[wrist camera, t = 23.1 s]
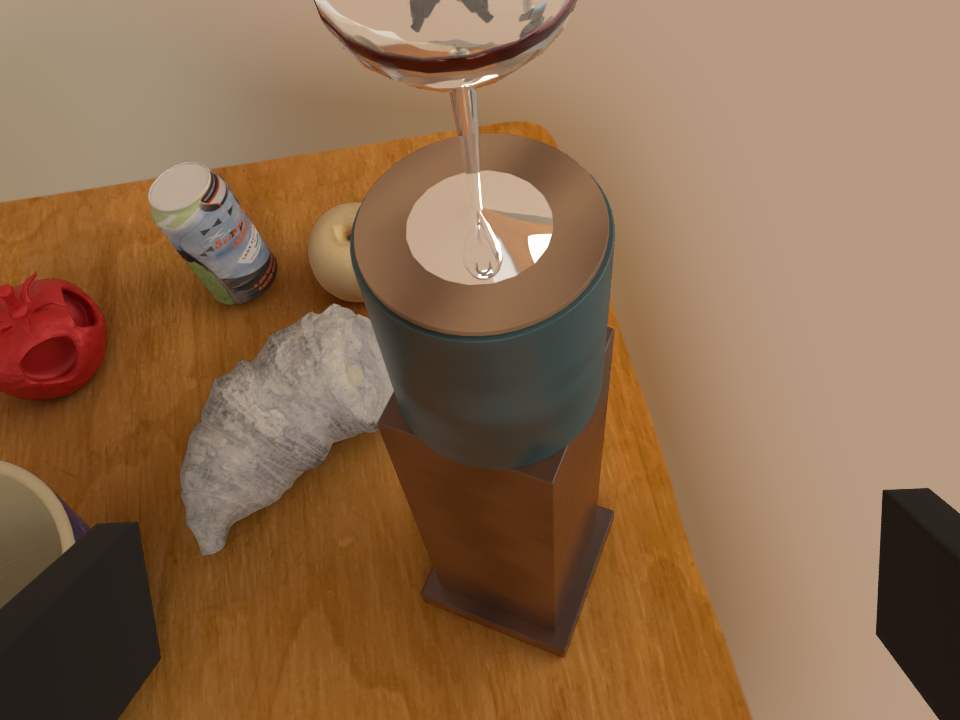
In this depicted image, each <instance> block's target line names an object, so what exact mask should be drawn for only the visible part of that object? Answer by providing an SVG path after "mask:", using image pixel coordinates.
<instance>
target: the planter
mask: <svg viewBox="0 0 960 720" xmlns="http://www.w3.org/2000/svg"><path fill="white" fill-rule="evenodd" d="M90 529H91V528H90V527H89V526H88V525H87V524H86V523H85V522H84V521H83V520H82V519H81V518H80V517H79V516H78V515H77V514H76V513H75V512H74V511H73V510H72V509H71V508H70V507H69V506H68V505H67V504H66V503H65V502H64V501H63V500H62V499H61V498H60V497H59V496H58V495H57V494H56V493H55V492H54V491H53V490H52V489H51V488H50V487H49V486H48V485H47V484H46V483H45V482H43V481H42V480H41V479H39V478H38V477H37V476H36V475H34V474H32V473H31V472H29V471H27V470H25V469H24V468H21V467H19V466H16V465H14V464H12V463H9V462H5V461H1V460H0V609H1V608H2V607H3V606H4V605H5V604H6V603H8V602H9V601H10V600H11V599H12V598H13V597H14V596H15V595H17V594H18V593H19V592H20V591H21V590H22V589H23V588H25V587H26V586H27V585H28V584H29V583H30V582H31V581H32V580H34V579H35V578H36V577H37V576H38V575H39V574H40V573H42V572H43V571H44V570H45V569H46V568H47V567H48V566H49V565H51V564H52V563H53V562H54V561H55V560H56V559H57V558H59V557H60V556H61V555H62V554H63V553H64V552H65V551H66V550H68V549H69V548H70V547H71V546H72V545H73V544H74V543H76V542H77V541H78V540H79V539H80V538H81V537H82V536H83V535H85V534H86V533H87V532H88V531H89V530H90Z"/></svg>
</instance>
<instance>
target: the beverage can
mask: <svg viewBox="0 0 960 720" xmlns="http://www.w3.org/2000/svg"><path fill="white" fill-rule="evenodd" d="M148 199H149V202H150V204H151V206H150V210H151V216H152V218H153V220H154V222H155V223H156V224H157V226H158V227H159V228H160V230H161V231H162V232H163V233H164V235H165V236H166V237H167V239H168V240H169V241H170V242H171V244H172V245H173V246H174V247H175V249H176V250H177V251H178V253H179V254H180V255H181V256H182V258H183V259H184V260H185V261H186V263H187V264H188V265H189V267H190V268H191V269H192V270H193V272H194V273H195V274H196V276H197V277H198V278H199V279H200V281H201V282H202V283H203V284H204V286H205V287H206V288H207V290H208V291H209V292H210V293H211V295H212V296H213V297H214V298H215V299H216V300H217V301H218V302H221V303H223V304H227V305H237V304H242V303H246V302H248V301H251V300H253V299H255V298H256V297H258V296H259V295H261V294H262V293H263V292H264V291H265V290H266V289H267V288H268V287H269V286H270V285H271V283H272V282H273V280H274V278H275V275H276V271H277V263H276V259H275V258H274V256H273V254H272V253H271V251H270V250H269V248H268V247H267V245H266V243H265V242H264V240H263V239H262V237H261V236H260V234H259V233H258V231H257V230H256V228H255V227H254V225H253V223H252V222H251V220H250V219H249V217H248V216H247V214H246V213H245V211H244V210H243V208H242V206H241V205H240V203H239V202H238V200H237V199H236V197H235V196H234V194H233V193H232V191H231V190H230V188H229V186H228V185H227V183H226V182H225V180H224V179H223V178H222V177H221V176H220V175H219V174H218V173H216V172H215V171H213V170H210V169H208V168H207V167H206V166H204V165H203V164H200V163H197V162H187V163H182V164H178V165H176V166H173V167H172V168H170V169H168V170H166V171H165V172H163V173H162V174H161V175H160V176H159V177H158V178H157V179H156V180H155V181H154V183H153V184H152V186H151V188H150V190H149V194H148Z"/></svg>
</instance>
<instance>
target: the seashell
mask: <svg viewBox="0 0 960 720" xmlns="http://www.w3.org/2000/svg"><path fill="white" fill-rule="evenodd" d="M393 392H394V390H393V387H392V384H391V381H390V378H389V375H388V372H387V369H386V366H385V363H384V360H383V357H382V354H381V351H380V348H379V345H378V342H377V339H376V336H375V333H374V330H373V327H372V324H371V321H370V319H368V318H367V317H364V316H362V315H360V314H357V315H355V314H354V312H353V311H352V310H350V309H348V308H344V307H341V306H340V305H337V304H332V305H330V306H329V307H328V308H327V309H326V310H324V311H323V312H322V313H320V314H315V313H314V312H313V311H312V312H309V313H307V314H306V315H304V316H303V317H302V318H301V319H300V320H299V321H298V322H296V323H295V324H292V325H291V326H289V327H287V328H284V329H281V330H280V331H278V332H274V333H272V334H271V335H270V336H269V337H268V339H267V342H266V343H265V345H264V346H263V348H262V350H261V351H260V352H259V353H258V354H257V357H256V358H255V359H254V360H253V361H252V362H246V361H244V360H240V361H239V362H238V363H237V365H236V366H235V367H234V369H233V370H232V371H230V372H229V373H227V374H224V375H223V376H221V377H220V378H216V379H215V380H214V382H213V384H212V386H211V393H210V395H209V397H208V399H207V402H206V405H205V406H204V407H203V409H202V411H201V418H202V419H201V422H200V423H198V424H197V425H196V426H195V428H194V429H193V430H192V432H191V434H190V437H189V438H188V446H187V451H186V454H185V456H184V462H183V464H182V466H181V468H180V486H181V489H182V491H181V494H180V495H181V499H182V501H183V503H184V505H185V513H186V525H187V526H188V527H189V528H190V530H191V531H192V532H193V534H194V536H195V537H196V539H197V542H198V545H199V547H200V550H201V553H202V555H208V556H209V555H212V554H214V553H217V552H219V551H220V550H222V549H223V548H224V546H225V543H226V540H227V536H228V533H229V529H230V528H231V527H232V525H233V524H234V523H235V522H236V521H239V520H241V519H243V518H245V517H247V516H249V515H250V514H251V513H254V512H256V511H258V510H260V509H262V508H265V507H268V506H270V505H271V504H272V503H274V502H276V501H277V500H279V499H280V497H281V496H282V494H283V493H284V492H285V491H286V490H288V489H290V488H292V486H293V483H294V482H295V480H296V479H297V478H298V477H299V476H301V475H302V474H303V472H304V471H306V470H309V469H313V468H315V467H317V466H319V465H321V464H322V462H323V461H324V460H325V458H326V456H327V455H328V452H329V451H330V448H331V446H332V444H333V443H334V442H338V441H342V440H344V439H350V438H353V437H354V436H356V435H358V434H360V433H366V432H369V433H374V432H376V431H378V430H379V427H378V425H377V422H378V420H379V418H380V416H381V414H382V413H383V411H384V409H385V407H386V405H387V403H388V401H389V399H390V397H391V395H392V393H393Z"/></svg>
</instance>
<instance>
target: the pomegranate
mask: <svg viewBox="0 0 960 720" xmlns="http://www.w3.org/2000/svg"><path fill="white" fill-rule="evenodd" d="M36 275H37V272H36V271H35V272H34V274H33V275H32V276H31V277H30V278H28V279H27V280H26V281H25V282H24V284H22V285H19V286H16V287H14V288H13V287H12V286H11V285H3V286H0V391H1V392H3V393H6V394H8V395H11V396H14V397H17V398H21V399H26V400H39V399H49V398H57V397H61V396H64V395H68V394H70V393H72V392H74V391H77V390H78V389H80V388H81V387H82V386H83V385H84V384H85V383H87V382H89V381H90V379H92V377H93V375H94V374H95V372H96V371H97V370H98V368H99V366H100V364H101V363H102V360H103V358H104V353H105V351H106V346H107V340H106V335H107V329H106V323H105V319H104V316H103V314H102V313H101V311H100V310H99V308H98V306H97V305H96V303H95V302H94V301H93V300H92V299H91V298H90V297H89V296H88V295H87V294H86V293H85V292H83V291H82V290H81V289H80V288H79V287H77V286H76V285H74V284H72V283H69V282H67V281H65V280H62V279H55V278H52V279H44V280H37V281H33V280H34V278H35V277H36Z"/></svg>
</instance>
